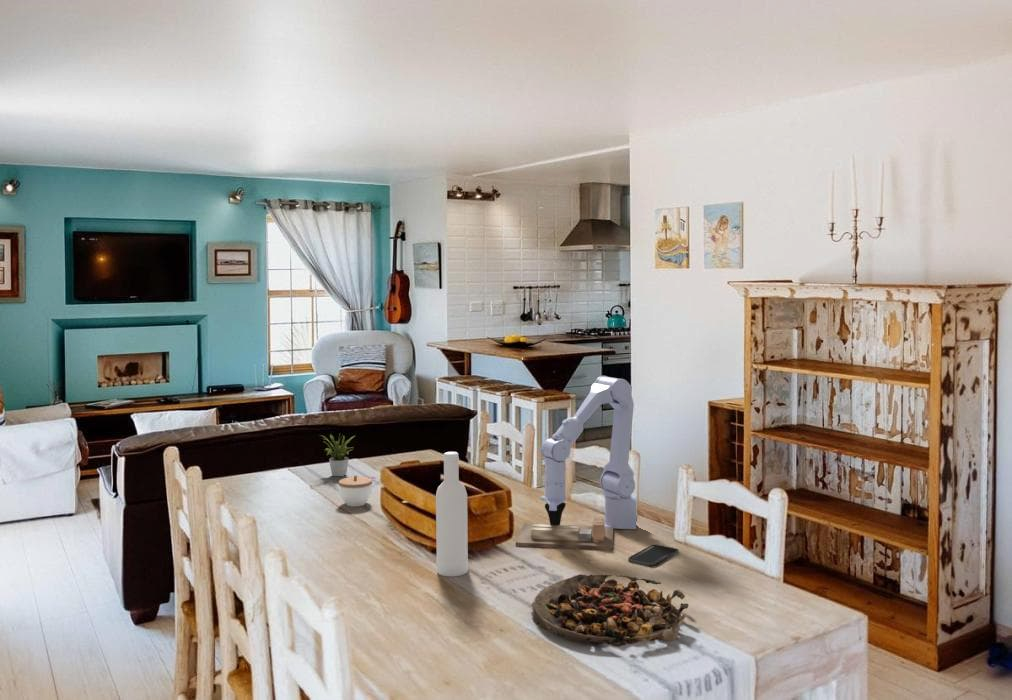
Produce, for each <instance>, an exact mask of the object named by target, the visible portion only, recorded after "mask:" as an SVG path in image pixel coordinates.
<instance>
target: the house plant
mask: <svg viewBox="0 0 1012 700" xmlns="http://www.w3.org/2000/svg"><path fill="white" fill-rule="evenodd" d="M340 435H341V434H339V436H338V437H339V438H338V439H337V440H336V441H335V437H334V436H333V435H332V434H331V433H330V435H329V437H330V439H331V441H330V440H329V439H328V438H327V437H325V436H324V435H322V437H323V438H324V443H325V444H326V445H327V446H328V447H329V448H328V447H327V448H325V449H324V450H322V451H323V452H327V453H326V456H328V455H331V457H330V458H329V460H328V461H329V466H330V471H331V475H332V476H331V477H333V476H343V477H345V476H344V475H346V476H347V473H348V472H347V471H348V467H349V466H348V465H349V457H347V456H346V455H349V454H350V453H349V452H350V451H352V449H354V446H352V447H348V446H347V445H348V444H349V443H350V441H351V440H352V439H354V437H355V435H353V436H351V437H350V438H349V439H347V440H346V441H345V436H342V437H343V438H342V437H340ZM319 436H321V435H320V434H319ZM341 439H342V440H341ZM325 440H326V441H327V442H328V443H327V442H326V441H325ZM340 442H341V444H340ZM329 444H330V445H329ZM333 450H334V451H333Z"/></svg>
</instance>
